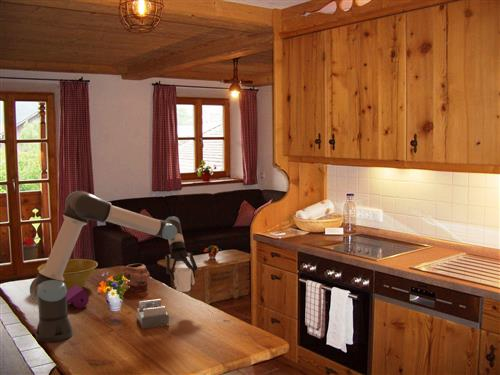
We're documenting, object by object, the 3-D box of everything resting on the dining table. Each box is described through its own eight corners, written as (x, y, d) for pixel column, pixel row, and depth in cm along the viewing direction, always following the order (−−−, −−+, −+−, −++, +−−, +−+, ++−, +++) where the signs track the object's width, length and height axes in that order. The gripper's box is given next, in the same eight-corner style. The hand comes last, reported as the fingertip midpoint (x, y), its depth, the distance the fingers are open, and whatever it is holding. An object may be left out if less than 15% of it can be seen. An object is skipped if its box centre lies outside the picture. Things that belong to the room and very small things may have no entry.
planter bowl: (105, 280, 318) (104, 258, 317) (88, 297, 286) (87, 273, 285) (52, 280, 319) (51, 258, 318) (28, 297, 287) (27, 273, 286)
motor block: (168, 325, 245) (168, 307, 244) (142, 328, 241) (141, 310, 240) (162, 315, 258) (162, 298, 257) (137, 318, 254) (136, 301, 253)
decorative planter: (115, 288, 302) (114, 264, 300) (132, 283, 311) (131, 260, 310) (140, 294, 290) (139, 269, 288) (156, 289, 300) (155, 264, 298)
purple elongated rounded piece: (60, 324, 264) (91, 301, 274) (52, 311, 261) (83, 288, 271) (53, 319, 271) (83, 297, 281) (45, 306, 268) (76, 284, 278)
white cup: (192, 287, 264) (191, 267, 263) (190, 292, 256) (190, 271, 255) (176, 287, 264) (175, 267, 263) (174, 292, 256) (174, 272, 255)
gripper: (195, 247, 276) (204, 286, 263) (155, 250, 269) (162, 290, 255) (198, 239, 270) (207, 278, 257) (157, 242, 263) (164, 282, 250)
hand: (185, 284), depth 256 cm, fingers closed on white cup, 8 cm apart
